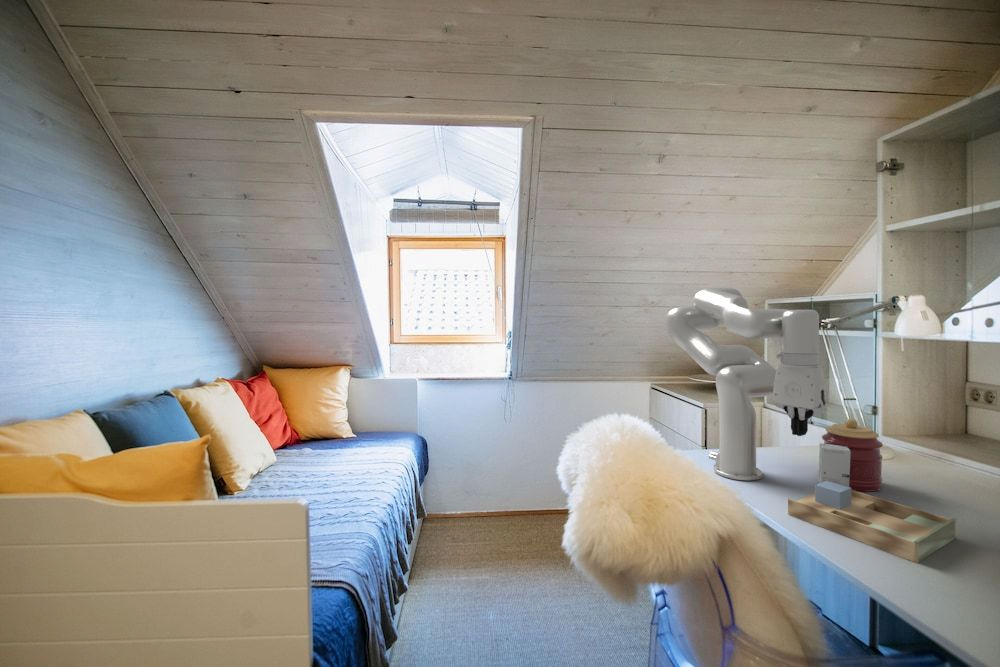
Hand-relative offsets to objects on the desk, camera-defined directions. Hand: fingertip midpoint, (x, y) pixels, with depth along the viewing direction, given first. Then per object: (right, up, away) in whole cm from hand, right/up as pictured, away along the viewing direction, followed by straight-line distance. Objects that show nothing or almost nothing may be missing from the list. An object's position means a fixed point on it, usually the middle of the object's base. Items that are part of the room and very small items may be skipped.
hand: (799, 434), depth 108 cm
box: (+7, -17, -11) cm, 22 cm away
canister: (+22, -16, +12) cm, 30 cm away
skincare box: (+13, -17, +6) cm, 22 cm away
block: (+4, -15, -6) cm, 16 cm away
